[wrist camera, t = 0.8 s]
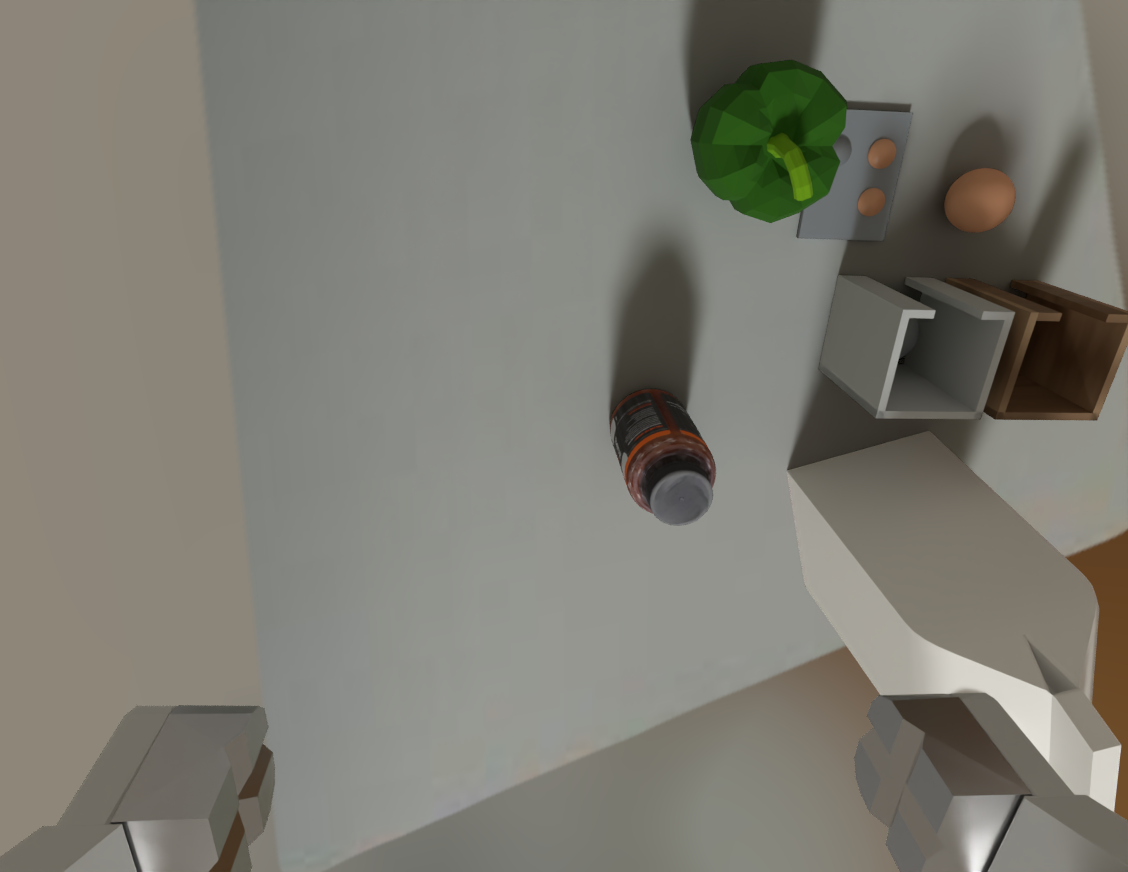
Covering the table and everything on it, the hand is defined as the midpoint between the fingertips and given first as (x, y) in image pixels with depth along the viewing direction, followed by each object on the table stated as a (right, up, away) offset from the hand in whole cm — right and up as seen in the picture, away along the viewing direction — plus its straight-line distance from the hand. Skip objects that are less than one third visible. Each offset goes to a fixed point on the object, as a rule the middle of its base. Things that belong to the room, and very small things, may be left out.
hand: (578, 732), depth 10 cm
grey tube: (+22, +12, +42) cm, 49 cm away
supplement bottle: (+6, +5, +44) cm, 45 cm away
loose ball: (+27, +20, +38) cm, 51 cm away
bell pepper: (+11, +23, +36) cm, 44 cm away
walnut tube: (+30, +12, +43) cm, 54 cm away
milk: (+25, -2, +49) cm, 55 cm away
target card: (+19, +21, +37) cm, 47 cm away
